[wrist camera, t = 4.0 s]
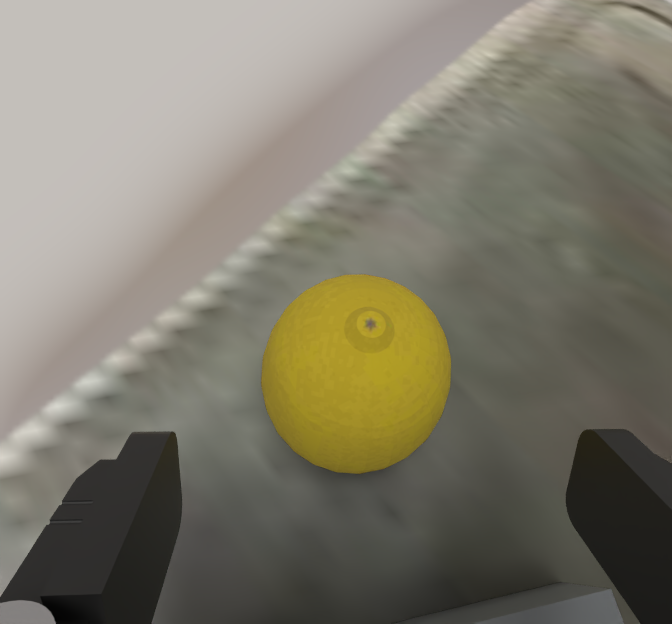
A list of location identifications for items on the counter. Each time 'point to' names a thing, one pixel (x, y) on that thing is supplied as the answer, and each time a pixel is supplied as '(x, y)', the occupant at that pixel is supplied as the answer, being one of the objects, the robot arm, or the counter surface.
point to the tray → (535, 608)
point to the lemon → (356, 373)
